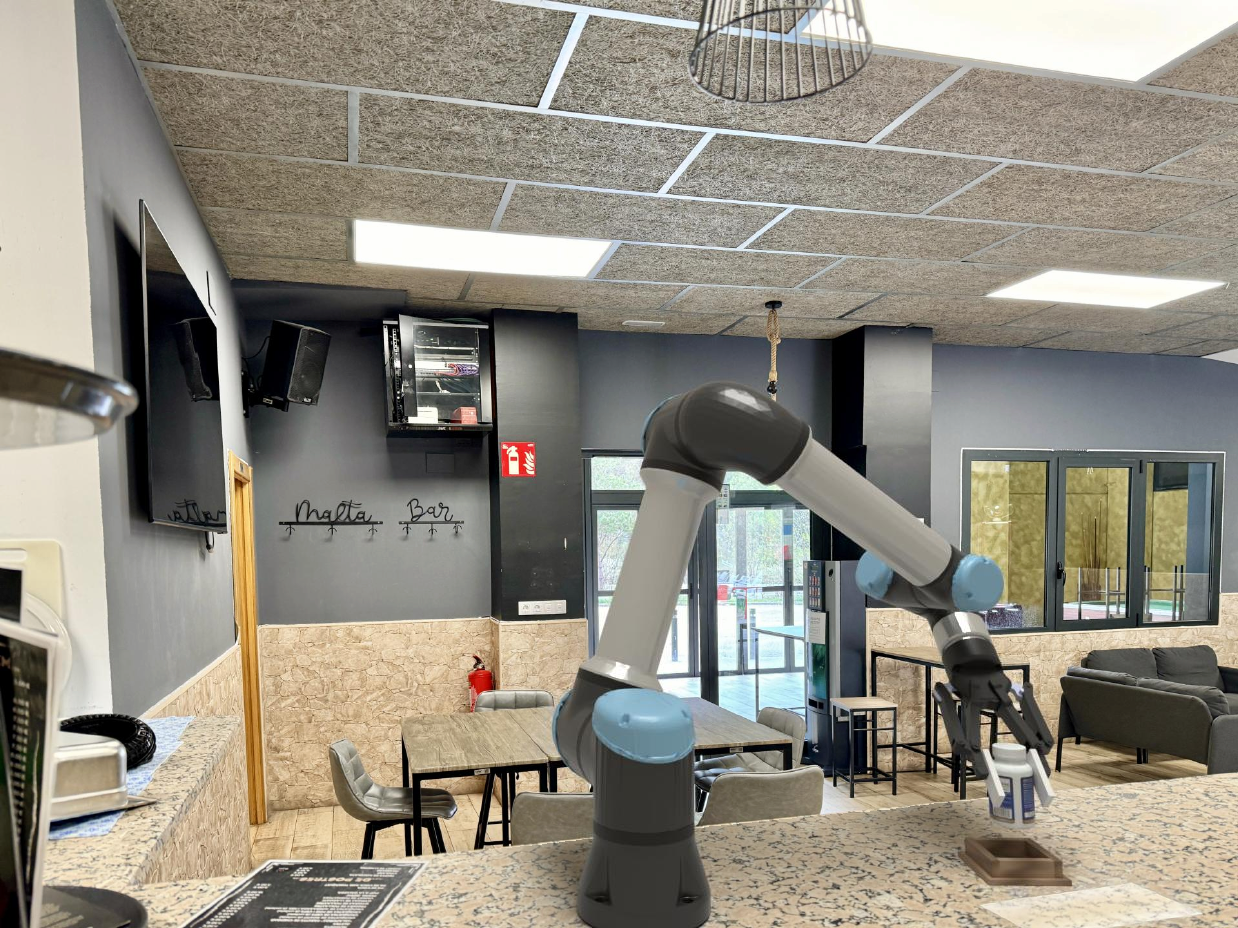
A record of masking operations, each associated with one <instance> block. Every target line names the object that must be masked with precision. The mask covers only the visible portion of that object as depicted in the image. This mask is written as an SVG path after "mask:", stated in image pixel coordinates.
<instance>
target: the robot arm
mask: <svg viewBox="0 0 1238 928" xmlns="http://www.w3.org/2000/svg"><path fill="white" fill-rule="evenodd" d="M640 447H641V448H640V449H641V452H642V454H643V459H642V461H641V462H642V463H641V466H640V469H639V473H638V475H639V476H640V478H641V480H642V482H643V483H644V485H645V490H644V493H643V496H642V500H641V504H640V506H639V509H638V513H637V516H636V519H635V523H634V526H633V529H632V531H631V532H632V533H631V536H630V538H629V542H628V545H627V549H626V552H625V554H624V559H623V560H622V565H621V568H620V572H619V574H618V575H619V576H618V578H617V581H616V584H615V588H614V591H613V594H612V599H611V601H610V604H609V608H608V611H607V615H606V617H605V620H604V621H605V622H604V624H603V627H602V631H601V634H600V636H599V637H600V638H599V641H598V643H597V646H596V650H595V654H594V655H593V656H592V657H591V658H589V659H587V660H585V661H584V662H582V663H580V664H579V667H578V670H577V673H576V677H575V679H574V682H573V685H572V688H570V690H569V691H567V692H566V693H565V694H564V695H563V696H562V698H561V699H560V700H559V701H558V703H557V706H556V708H555V709H554V713H553V716H552V721H551V734H552V735H551V736H552V741H553V744H554V747H555V749H556V751H557V753H558V755H559V756H560V758H561V759H562V761H563V763H564V764H565V765H566V766H567V768H568V769H569V770H570V771H571V772H573V773H574V774H576V775H577V776H578V777H579V778H582V779H583V780H585V782H588V784H589V785H591V786H592V793H593V794H592V796H593V797H592V798H593V799H592V801H593V802H592V805H593V806H592V808H593V809H592V829H593V831H592V838H591V839H592V840H591V843H590V846H589V848H588V852H587V856H586V860H585V862H584V865H583V868H582V871H581V872H582V873H581V875H580V878H579V882H578V885H577V894H576V895H577V896H576V897H577V898H576V902H577V903H576V904H577V905H576V909H577V914H578V916H579V917H580V918H581V919H582V920H583V921H584V922H585V923H587V924H589V925H591V927H594V928H697V927H699V926H700V925H702V924H704V923H705V922H706V921H707V920H708V919H709V917H710V915H711V912H712V905H711V904H712V902H711V901H712V900H711V899H712V898H711V897H712V896H711V895H712V894H711V893H712V892H711V887H710V883H709V880H708V877H707V874H706V871H705V870H706V869H705V867H704V865H703V861H702V857H701V855H700V851H699V848H698V845H697V841H696V835H695V834H696V833H695V832H696V831H695V827H696V826H695V819H696V818H695V815H696V814H695V803H696V801H695V796H696V795H695V794H696V793H695V789H696V787H695V775H696V774H695V766H696V765H695V761H696V760H695V745H696V741H697V740H696V737H697V736H696V730H695V726H694V725H695V724H694V713H693V711H692V709H691V706H690V705H689V704H688V703H687V702H686V701H685V700H684V699H682V698H680V697H679V696H677V695H674V694H672V693H670V692H665V691H664V689H663V687H662V684H661V683H660V680H659V679H658V671H659V668H660V667H659V666H660V664H661V663H660V662H661V659H662V656H663V653H664V649H665V646H666V642H667V639H668V636H669V632H670V629H671V624H672V622H673V618H674V614H675V612H676V608H677V604H678V601H679V598H680V594H681V591H682V587H683V583H684V580H685V577H686V574H687V570H688V566H689V563H690V560H691V555H692V554H693V553H692V552H693V549H694V545H695V542H696V538H697V536H698V532H699V529H700V528H699V527H700V525H701V521H702V518H703V515H704V514H703V513H705V507H706V505H708V504H709V503H711V502H713V501H714V500H717V499H718V498H720V495H721V491H722V488H723V485H724V483H725V478H726V475H727V471H728V469H729V470H734V471H737V472H741V473H743V474H745V475H748V476H749V477H752V478H753V479H755V481H757V482H758V483H759V484H761V485H763V486H765V487H769V486H775V485H776V486H778V487H779V488H780V489H782V490H783V491H784V492H785V493H787V494H788V495H790V496H792V497H793V498H794V499H795V500H797V501H798V502H799V503H801V504H802V505H803V506H805V507H806V508H807V509H809V510H810V511H812V512H813V513H814V514H816V515H817V516H819V517H820V518H822V519H823V520H824V521H825V522H827V523H828V524H830V525H831V526H833V528H835V529H837V530H838V531H839V532H841V533H842V534H844V535H845V536H846V537H847V538H849V539H851V541H853V542H854V543H856V544H857V545H858V546H860V547H861V548H863V550H865V552H864V553H863V554H862V556H861V557H860V558H859V561H858V562H857V563H858V564H857V566H856V570H855V572H854V573H855V576H854V577H855V583H856V586H857V587H858V589H859V590H860V591H861V592H862V593H863V594H865V595H867V596H870V597H872V598H873V599H874V600H875V601H878V600H879V601H881V602H884V603H886V604H889V605H891V606H894V607H897V608H899V609H902V610H905V611H907V612H910V613H912V614H913V615H916V616H919V617H922V618H924V619H926V620H927V622H928V625H929V627H930V630H931V633H932V636H933V638H934V641H935V644H936V648H937V651H938V654H939V656H940V657H941V662H942V665H943V668H944V671H945V674H946V677H947V679H948V682H947V683H943V682H941V681H937V682H935V684H934V687H933V690H932V692H931V697H932V699H933V700H934V701H935V703H936V704H937V705H938V707H939V710H940V714H941V717H942V721H943V724H944V727H945V731H946V735H947V738H948V741H949V744H950V748H951V749H950V750H951V751H952V753H953V754H955V755H957V756H959V755H965V760H966V761H967V762H969V763H971V765H972V769H973V772H974V775H975V777H976V778H977V779H978V780H980V781H981V780H982V781H983V780H984V783H985V786H986V790H987V793H988V797H989V796H990V798H991V801H992V804H993V807H1000V806H1001V804H1002V802H1003V800H1004V798H1005V793H1004V791H1003V788H1002V785H1001V782H1000V780H999V777H998V774H997V771H996V769H995V766H994V763H993V760H994V759H993V757H992V756H991V753H990V750H989V749H988V748H982V733H981V732H982V731H981V711H983V710H987V711H988V710H989V711H993V712H994V714H995V715H996V717H997V718H999V719H1001V720H1002V721H1003V723H1004V725H1005V726H1006V727H1007V729H1008V730H1009V731H1010V733H1011V734H1012V735H1013V737H1014V739H1015V740H1016V741H1017V744H1019V745H1023V746H1025V747H1026V759H1024V761H1025V763H1027V764H1029V765H1030V766H1031V767H1032V770H1033V783H1034V791H1035V792H1036V795H1037V797H1038V800H1039V802H1040V805H1041V807H1042V808H1050V805H1051V804H1052V802H1053V800H1054V798H1055V797H1056V795H1055V792H1054V790H1053V788H1052V784H1051V782H1050V780H1049V778H1050V776H1051V774H1052V769H1051V766H1050V765H1049V762H1048V759H1047V758H1046V756H1048V755H1049V754H1050V752H1051V750H1052V749H1053V747H1054V745H1055V742H1056V741H1055V739H1054V737H1053V735H1052V733H1051V731H1050V728H1049V726H1048V724H1047V722H1046V720H1045V718H1044V716H1043V714H1042V711H1041V709H1040V707H1039V705H1038V703H1037V701H1036V698H1035V696H1034V685H1033V684H1032V683H1031V682H1029V681H1026V682H1024V683H1023V684H1020V683H1016V682H1012V680H1011V679H1010V678H1009V677H1008V676H1007V675H1006V674H1005V672H1004V668H1003V665H1002V662H1001V660H1000V657H999V654H998V652H997V650H996V647H995V646H994V644H993V640H992V638H991V635H990V633H989V630H988V628H987V626H986V623H985V621H984V619H983V616H982V615H981V613H980V612H982V613H983V612H987V611H989V610H992V609H994V607H996V606H997V605H998V603H999V602H1000V601H1001V598H1002V595H1003V593H1004V588H1005V579H1004V575H1003V571H1002V570H1001V568H1000V566H999V565H998V564H997V562H996V561H994V559H992V558H990V557H988V556H984V555H978V554H975V553H970V554H966V553H964V552H962V551H961V550H960V549H959V548H958V547H956V546H954V545H953V544H952V543H950V542H949V541H948V540H946V539H945V538H943V537H942V536H941V535H939V534H938V533H937V532H936V531H934V530H933V529H932V528H930V527H929V526H928V525H926V523H924V522H923V521H921V520H920V519H919V518H917V517H916V516H915V515H913V513H911V512H910V511H908V510H907V509H906V508H904V507H903V506H902V505H901V504H899V503H898V502H896V501H895V500H894V499H893V498H891V497H890V496H889V495H887V494H886V493H885V492H883V491H882V490H881V489H879V488H878V487H877V486H876V485H874V484H873V483H871V482H870V481H869V480H868V479H866V478H865V477H864V476H863V475H861V474H860V472H857V471H856V470H855V469H854V468H852V467H851V466H850V465H848V464H847V463H845V462H844V461H843V460H842V459H840V458H839V457H837V456H836V455H835V454H834V453H833V452H832V451H830V450H828V448H826V447H825V446H823V445H822V444H821V443H819V441H817V440H815V439H814V438H813V433H812V428H811V426H810V425H809V424H808V423H807V422H805V421H804V420H803V419H801V418H800V417H799V416H798V415H796V414H795V413H794V412H792V411H791V410H790V409H788V408H786V407H785V406H783V405H782V404H781V403H779V402H778V401H776V400H774V399H773V398H771V397H770V396H768V395H766V394H764V393H763V392H761V391H760V390H758V389H755V388H753V387H751V386H749V385H746V384H743V383H739V382H737V381H732V380H725V379H724V380H715V381H713V380H712V381H709V382H706V383H704V384H701V385H699V386H698V387H696V388H693V389H691V390H688V391H686V392H684V393H680V394H675V395H673V396H671V397H669V398H667V399H665V400H664V401H662V402H661V403H660V404H659V405H657V406H656V408H655V407H654V409H653V410H652V411H651V412H650V414H649V415H648V416H647V417H646V419H645V421H644V424H643V426H642V429H641V434H640ZM1009 693H1011V694H1013V696H1014V700H1015V701H1016V702H1017V703H1018V702H1019V708H1020V711H1021V713H1022V715H1021V713H1019V711H1018V710H1017V708H1016V707H1015V705H1014V702H1013V700H1012V697H1010V695H1009ZM953 695H954V696H955V697H957V699H959V700H960V701H962V702H963V703H964V716H965V724H966V725H965V727H966V731H965V732H966V733H965V734H966V737H965V734H964V731H963V727H962V724H961V720H960V718H959V715H958V712H957V708H956V705H955V701H954V699H953ZM1022 716H1023V717H1024V718H1023V717H1022Z"/></svg>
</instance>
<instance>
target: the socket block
mask: <svg viewBox="0 0 1238 928" xmlns="http://www.w3.org/2000/svg"><path fill="white" fill-rule="evenodd" d="M957 856H958V857H959V858H960V859H961V860H962V861H963V862H964V864H966V865H967V866H968V867H969V868H970V869H971V870H972V871H974V873H976V874H977V876H978V877H980V879H982V880H983V881H984V882H985V883H986V884H987V885H988V886H1047V887H1048V886H1049V887H1050V886H1052V887H1053V886H1055V887H1056V886H1057V887H1058V886H1059V887H1065V886H1067V887H1068V886H1069V887H1071V886H1073V881H1072V879H1071V878H1069V877H1068V876H1066V875H1065V874H1064V870H1063V869H1064V868H1063V861H1062V859H1060V858H1058V857H1057V856H1056V855H1054V854H1053V853H1051V852H1050V851H1049V850H1047V849H1046V848H1045V847H1043V846H1042V845H1040V844H1039V843H1038V842H1036V841H1035V840H1033V838H1031V837H973V836H972V837H970V836H969V837H968V836H967V837H964V851H963V850H960V851H959V850H958V851H957Z"/></svg>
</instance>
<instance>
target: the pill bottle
mask: <svg viewBox="0 0 1238 928" xmlns="http://www.w3.org/2000/svg"><path fill="white" fill-rule="evenodd" d="M991 747H992V749H991V751H992V752H991V754H992V757H994V759H992V760H993V763H994V766H995V769H996V771H997V774H998V777H999V780H1000V782H1001V785H1002V788H1003V791H1004V793H1005V798H1004V800H1003V802H1002V804H1001V806H1000V807H993V804H992V801H991V798H990V796H989V795H988V808H989V809H988V811H989V813H988V814H989V820H990V822H992V824H994V825H996V826H998V827H1001V828H1005V829H1011V830H1030V829H1033V828H1035V826H1036V807H1035V806H1036V805H1035V787H1034V783H1033V770H1032V767H1031V766H1030V765H1029V764H1027V763H1025V761H1024V759H1026V756H1027V754H1026V747H1025V746H1023V745H1020V744H1019V743H1012V742H995V743H993V744H992V745H991Z"/></svg>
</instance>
